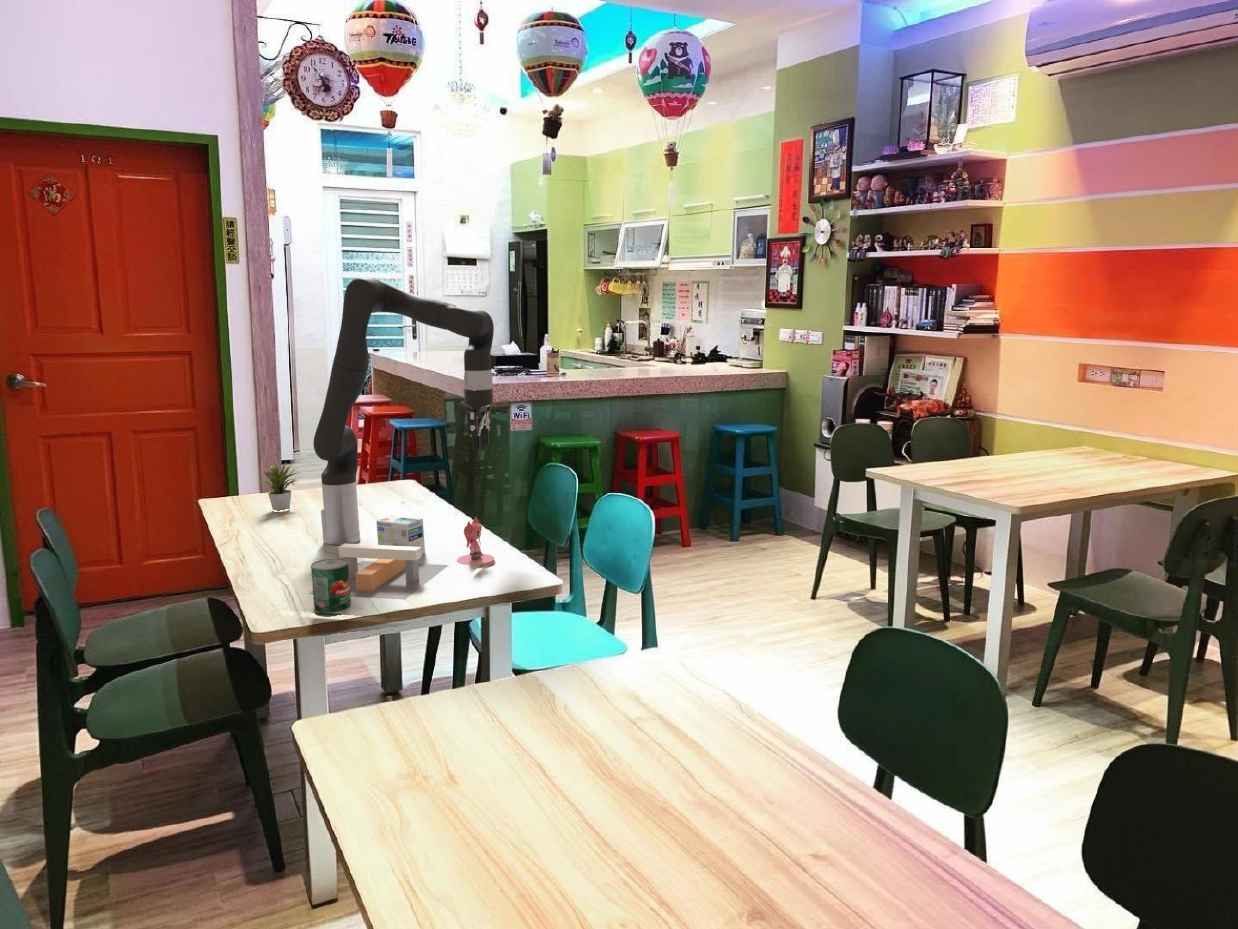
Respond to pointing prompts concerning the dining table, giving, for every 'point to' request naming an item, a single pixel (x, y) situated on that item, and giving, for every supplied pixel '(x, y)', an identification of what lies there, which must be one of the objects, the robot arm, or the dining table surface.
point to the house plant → (279, 487)
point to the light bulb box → (401, 532)
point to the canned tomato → (330, 586)
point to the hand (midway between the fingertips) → (480, 447)
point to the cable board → (394, 579)
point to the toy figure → (475, 546)
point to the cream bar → (380, 552)
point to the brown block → (378, 573)
